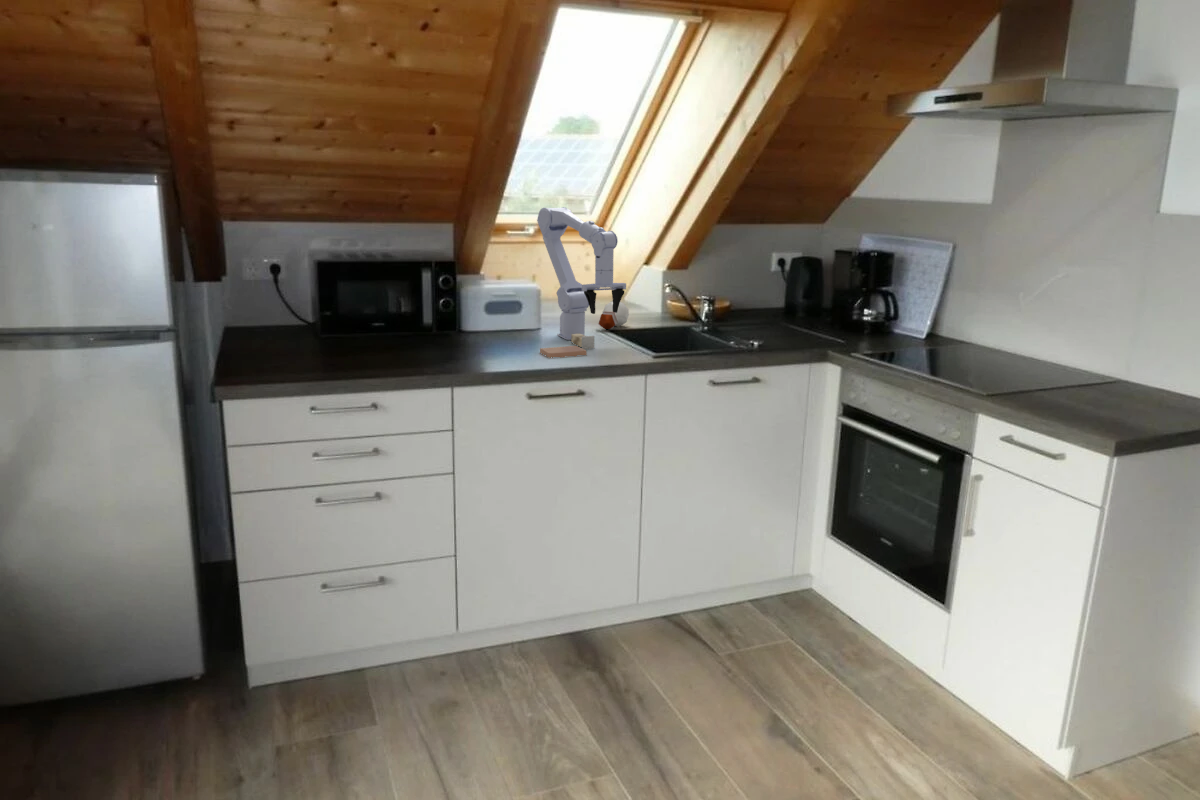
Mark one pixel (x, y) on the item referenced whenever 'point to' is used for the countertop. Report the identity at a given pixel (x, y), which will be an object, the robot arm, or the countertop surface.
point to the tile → (563, 351)
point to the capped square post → (583, 341)
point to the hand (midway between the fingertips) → (604, 312)
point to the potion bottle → (613, 316)
